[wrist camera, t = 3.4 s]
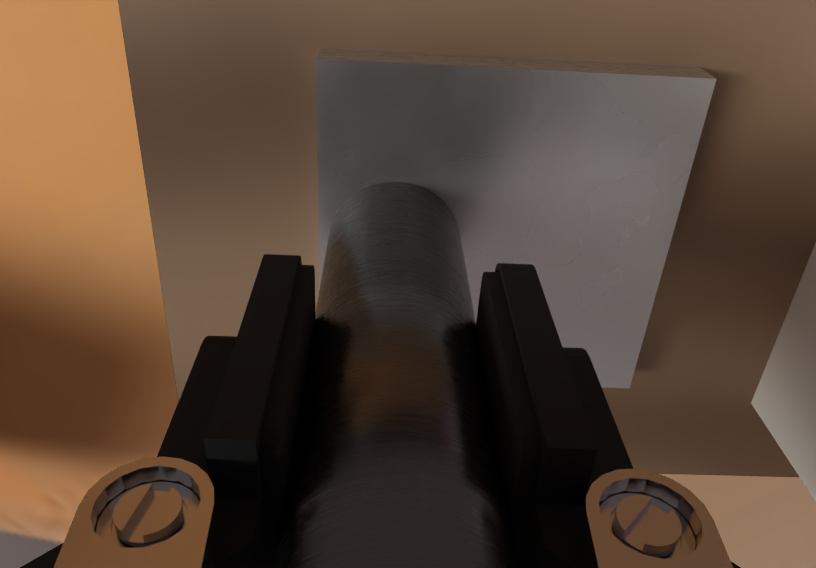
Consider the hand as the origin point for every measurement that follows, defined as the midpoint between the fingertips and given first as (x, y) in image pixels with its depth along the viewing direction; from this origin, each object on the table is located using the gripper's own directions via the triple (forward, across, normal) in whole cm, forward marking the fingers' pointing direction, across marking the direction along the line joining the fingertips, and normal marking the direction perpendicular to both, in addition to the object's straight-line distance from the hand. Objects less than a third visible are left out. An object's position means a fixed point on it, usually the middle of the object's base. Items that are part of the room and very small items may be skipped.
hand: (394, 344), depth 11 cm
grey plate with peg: (+4, -2, 0) cm, 5 cm away
